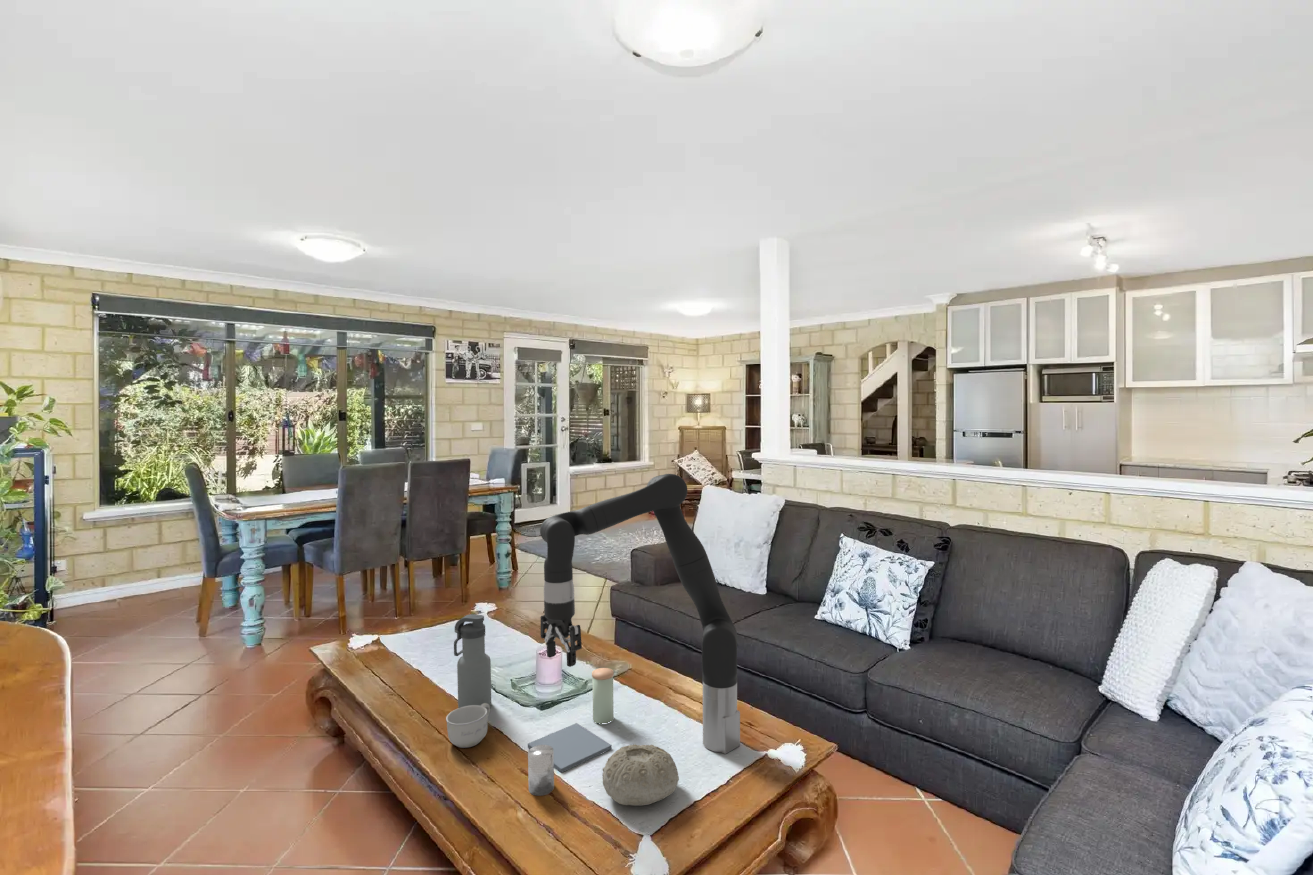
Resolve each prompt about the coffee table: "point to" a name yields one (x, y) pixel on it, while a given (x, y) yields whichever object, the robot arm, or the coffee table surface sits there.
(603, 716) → the sage tin
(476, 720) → the teacup
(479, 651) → the water bottle
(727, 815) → the coffee table surface
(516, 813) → the coffee table surface
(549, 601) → the robot arm
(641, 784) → the decorative shell
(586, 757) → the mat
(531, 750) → the steel tin
